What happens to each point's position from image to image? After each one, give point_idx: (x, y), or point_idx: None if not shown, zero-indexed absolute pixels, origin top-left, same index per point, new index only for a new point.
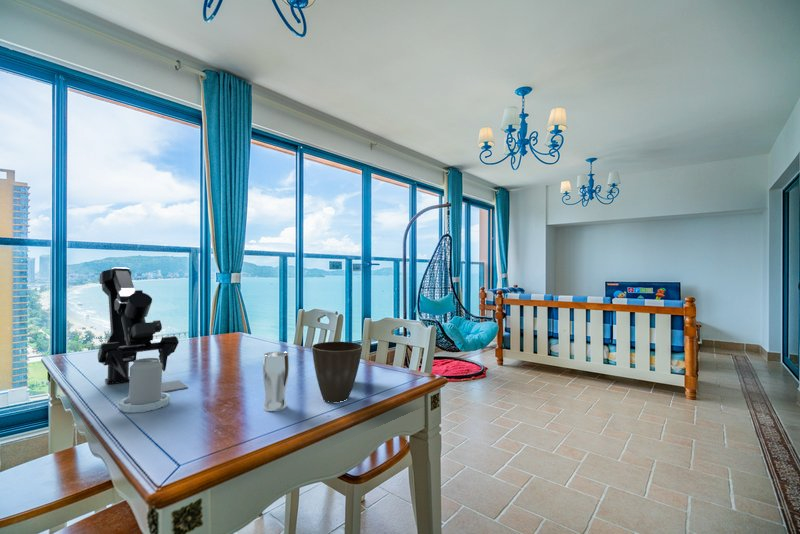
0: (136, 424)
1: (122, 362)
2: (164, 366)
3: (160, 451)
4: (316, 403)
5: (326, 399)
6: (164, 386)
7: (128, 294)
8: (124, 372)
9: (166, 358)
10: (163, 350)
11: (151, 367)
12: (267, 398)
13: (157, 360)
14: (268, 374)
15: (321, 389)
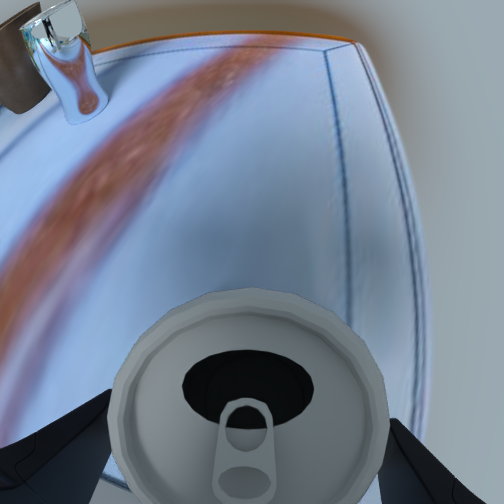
0: (345, 216)
1: (443, 497)
2: (103, 401)
3: (335, 81)
4: (53, 96)
5: (47, 88)
6: None
7: None
8: (407, 433)
9: (43, 432)
10: (3, 487)
11: (255, 291)
12: (96, 83)
13: (165, 323)
14: (86, 32)
15: (40, 78)
